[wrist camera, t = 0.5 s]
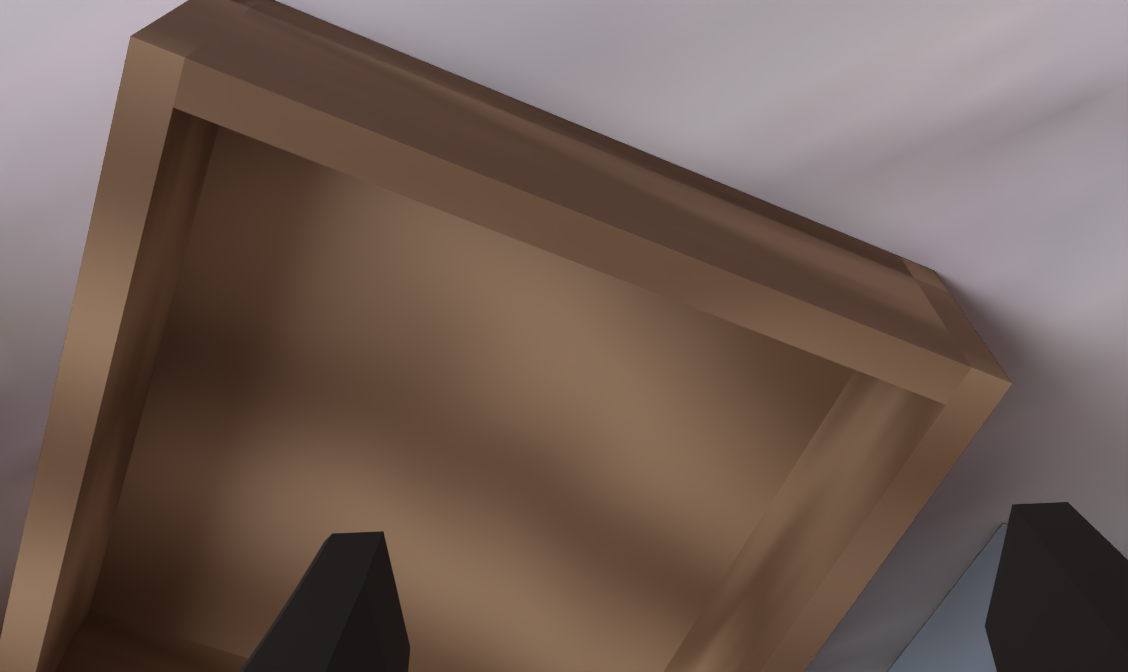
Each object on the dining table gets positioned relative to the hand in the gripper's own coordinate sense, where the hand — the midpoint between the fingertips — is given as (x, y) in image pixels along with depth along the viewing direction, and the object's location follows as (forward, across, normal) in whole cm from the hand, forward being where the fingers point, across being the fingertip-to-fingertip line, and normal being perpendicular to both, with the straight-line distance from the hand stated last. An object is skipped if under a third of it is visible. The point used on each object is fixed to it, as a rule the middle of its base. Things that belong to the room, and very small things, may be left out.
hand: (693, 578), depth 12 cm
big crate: (+10, +4, +6) cm, 12 cm away
